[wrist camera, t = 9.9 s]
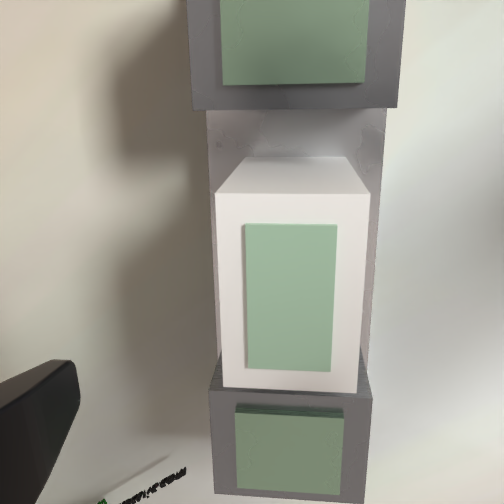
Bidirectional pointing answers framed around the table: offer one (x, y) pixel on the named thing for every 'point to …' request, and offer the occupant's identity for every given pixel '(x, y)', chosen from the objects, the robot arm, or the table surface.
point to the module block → (292, 273)
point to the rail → (295, 145)
